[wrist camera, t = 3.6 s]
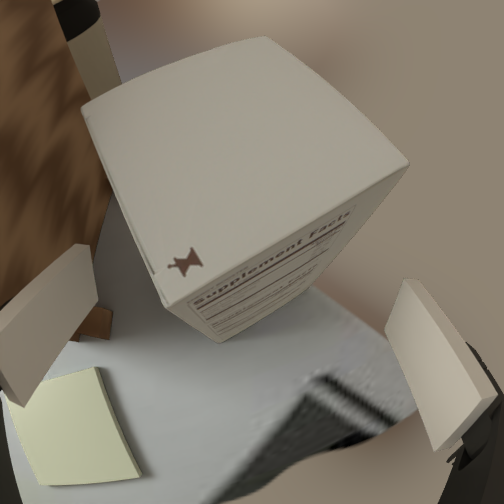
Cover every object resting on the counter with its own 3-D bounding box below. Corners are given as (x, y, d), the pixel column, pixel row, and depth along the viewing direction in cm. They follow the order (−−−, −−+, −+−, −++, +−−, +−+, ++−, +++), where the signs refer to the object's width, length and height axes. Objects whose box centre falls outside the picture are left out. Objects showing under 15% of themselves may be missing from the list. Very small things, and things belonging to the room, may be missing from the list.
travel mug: (135, 118, 30) (93, -18, 13) (74, 149, 29) (6, 28, 12) (121, 85, 32) (88, -29, 15) (68, 112, 31) (17, 6, 14)
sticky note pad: (8, 390, 19) (3, 390, 19) (97, 366, 21) (93, 366, 21) (44, 483, 16) (40, 485, 16) (142, 474, 18) (139, 477, 18)
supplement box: (313, 286, 25) (424, 169, 9) (217, 347, 23) (170, 327, 7) (251, 198, 27) (267, 29, 11) (160, 248, 25) (74, 102, 9)
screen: (83, 163, 28) (-8, -4, 7) (148, 163, 28) (80, -46, 7) (37, 330, 22) (-166, 249, 1) (108, 349, 22) (-154, 275, 1)
